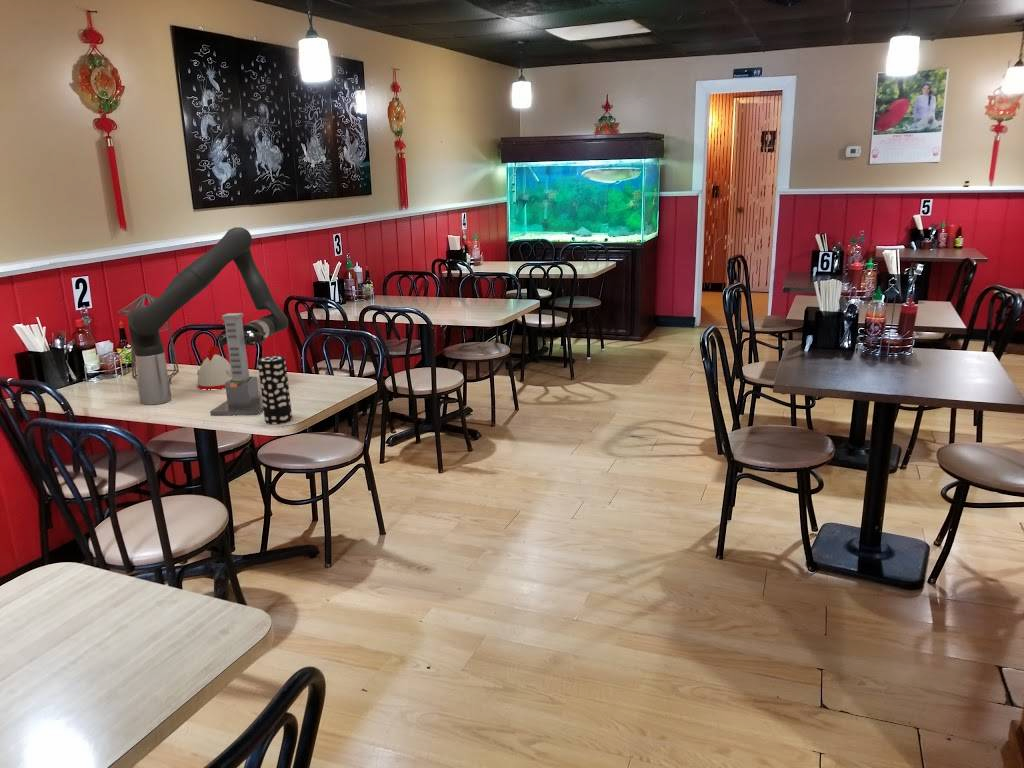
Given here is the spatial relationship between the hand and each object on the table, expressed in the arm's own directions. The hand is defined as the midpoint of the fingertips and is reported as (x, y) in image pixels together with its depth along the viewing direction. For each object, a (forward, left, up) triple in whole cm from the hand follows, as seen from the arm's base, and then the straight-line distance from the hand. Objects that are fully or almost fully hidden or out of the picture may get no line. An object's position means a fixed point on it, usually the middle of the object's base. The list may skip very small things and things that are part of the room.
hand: (233, 342), depth 247 cm
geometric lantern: (-47, +32, -23) cm, 61 cm away
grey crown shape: (-24, +32, -23) cm, 46 cm away
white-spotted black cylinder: (+17, -11, -23) cm, 31 cm away
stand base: (0, +2, -23) cm, 23 cm away
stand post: (0, +2, -14) cm, 15 cm away
